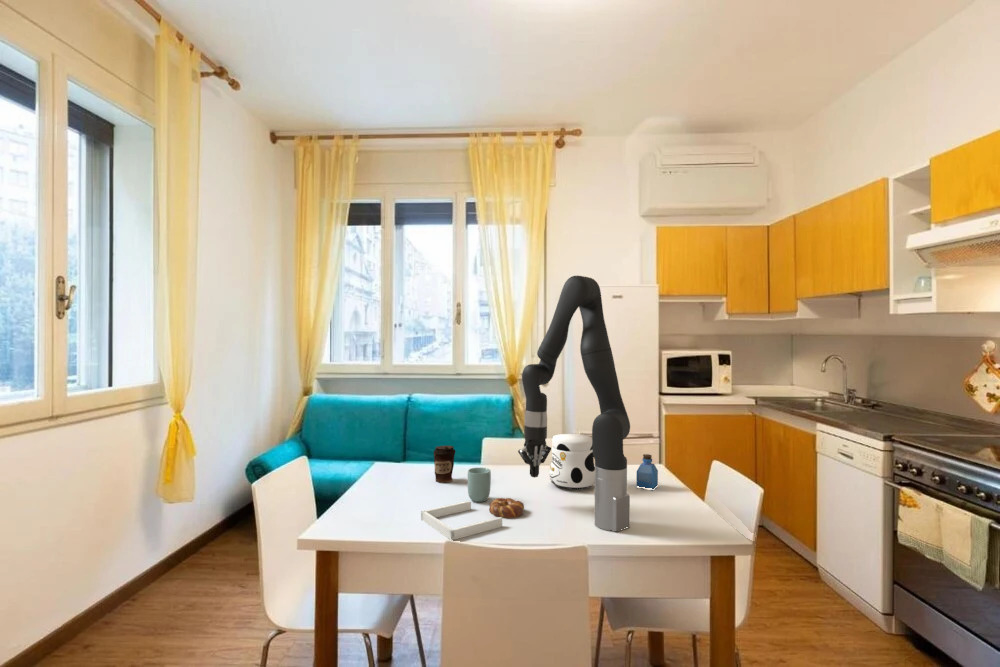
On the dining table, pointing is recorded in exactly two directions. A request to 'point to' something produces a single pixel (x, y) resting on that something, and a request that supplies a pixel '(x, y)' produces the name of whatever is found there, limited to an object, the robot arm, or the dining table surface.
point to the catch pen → (460, 532)
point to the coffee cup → (444, 463)
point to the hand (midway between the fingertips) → (534, 476)
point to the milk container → (572, 461)
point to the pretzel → (506, 508)
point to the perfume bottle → (647, 473)
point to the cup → (479, 484)
